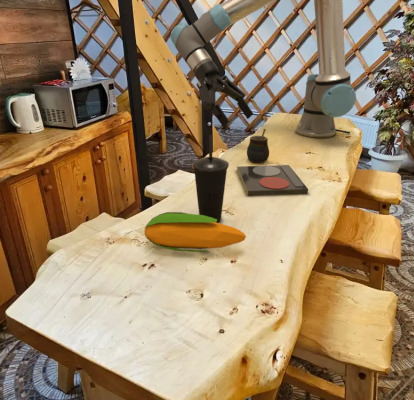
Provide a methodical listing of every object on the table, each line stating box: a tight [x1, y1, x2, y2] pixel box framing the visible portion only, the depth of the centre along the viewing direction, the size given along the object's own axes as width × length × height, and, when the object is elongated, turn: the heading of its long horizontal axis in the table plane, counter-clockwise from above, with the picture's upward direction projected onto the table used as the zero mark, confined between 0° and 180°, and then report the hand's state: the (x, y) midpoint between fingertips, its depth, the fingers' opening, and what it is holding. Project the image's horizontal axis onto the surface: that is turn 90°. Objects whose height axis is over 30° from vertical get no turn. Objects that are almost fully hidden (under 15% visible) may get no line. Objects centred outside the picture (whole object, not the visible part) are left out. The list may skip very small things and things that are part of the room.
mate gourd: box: [246, 128, 270, 165], centre depth 118 cm, size 7×8×10 cm
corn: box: [144, 211, 247, 253], centre depth 72 cm, size 7×8×20 cm
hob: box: [236, 164, 309, 197], centre depth 104 cm, size 16×18×2 cm
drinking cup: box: [192, 133, 229, 223], centre depth 80 cm, size 8×8×20 cm
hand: (238, 120), depth 119 cm, fingers open, 13 cm apart
